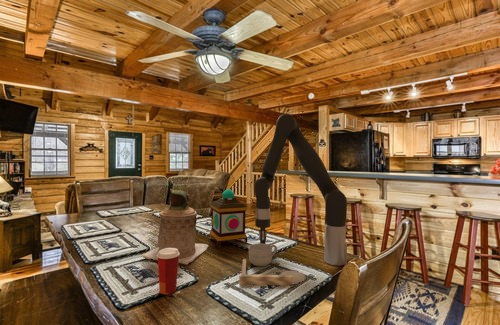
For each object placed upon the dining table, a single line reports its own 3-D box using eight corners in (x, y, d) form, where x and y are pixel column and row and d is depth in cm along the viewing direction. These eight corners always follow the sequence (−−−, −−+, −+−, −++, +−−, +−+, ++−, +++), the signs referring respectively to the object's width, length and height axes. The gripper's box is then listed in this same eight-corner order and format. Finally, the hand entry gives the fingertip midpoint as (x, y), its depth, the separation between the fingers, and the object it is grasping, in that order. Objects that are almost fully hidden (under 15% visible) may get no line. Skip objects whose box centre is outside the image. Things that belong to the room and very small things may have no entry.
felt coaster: (302, 271, 106) (302, 270, 106) (307, 283, 96) (307, 282, 96) (278, 271, 106) (278, 270, 106) (281, 282, 96) (281, 281, 96)
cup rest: (286, 266, 111) (286, 259, 111) (292, 285, 94) (292, 277, 94) (241, 265, 111) (241, 258, 111) (239, 284, 94) (239, 276, 94)
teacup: (251, 270, 107) (252, 251, 107) (245, 260, 117) (245, 243, 117) (282, 266, 111) (282, 248, 111) (273, 257, 121) (273, 241, 121)
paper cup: (181, 285, 93) (181, 247, 93) (176, 296, 85) (176, 254, 85) (160, 285, 93) (160, 247, 93) (152, 296, 85) (153, 254, 85)
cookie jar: (190, 265, 111) (190, 192, 111) (139, 260, 116) (140, 190, 115) (210, 247, 135) (210, 187, 135) (167, 243, 140) (168, 185, 140)
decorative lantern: (206, 238, 150) (206, 187, 150) (237, 234, 158) (237, 186, 158) (216, 249, 132) (217, 191, 132) (250, 244, 140) (251, 190, 140)
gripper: (271, 220, 119) (270, 256, 119) (269, 214, 133) (269, 247, 133) (255, 220, 119) (255, 256, 119) (255, 214, 133) (254, 247, 133)
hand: (262, 251), depth 126 cm, fingers closed
